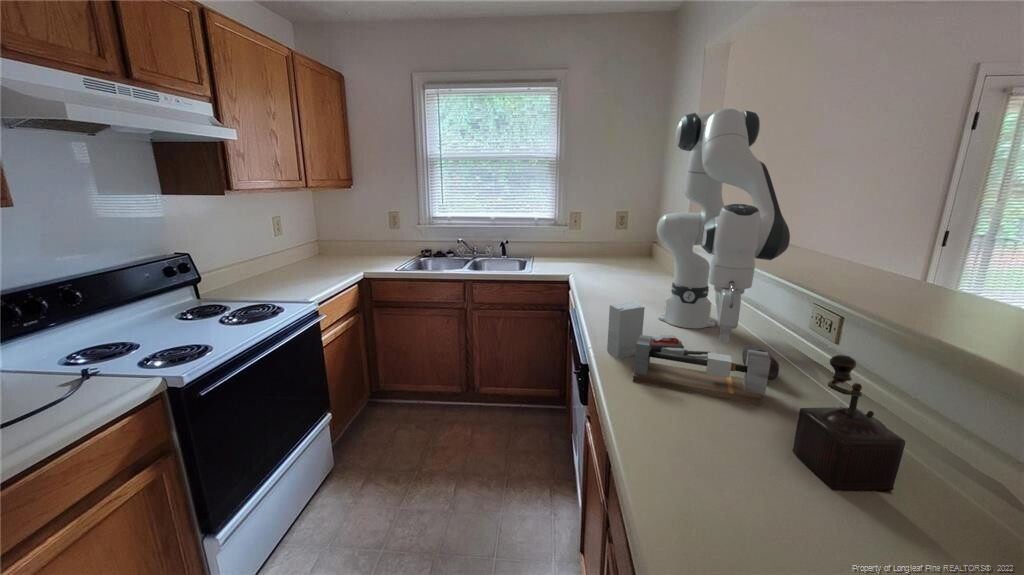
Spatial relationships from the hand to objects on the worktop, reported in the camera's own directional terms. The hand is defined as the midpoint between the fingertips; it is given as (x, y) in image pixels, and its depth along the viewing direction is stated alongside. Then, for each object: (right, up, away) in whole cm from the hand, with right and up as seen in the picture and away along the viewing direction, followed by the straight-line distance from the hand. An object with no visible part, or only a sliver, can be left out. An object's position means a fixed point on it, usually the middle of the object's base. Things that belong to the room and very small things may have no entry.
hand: (722, 333), depth 98 cm
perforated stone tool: (+15, -12, +12) cm, 22 cm away
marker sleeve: (0, -10, +2) cm, 10 cm away
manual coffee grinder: (+7, -21, -24) cm, 32 cm away
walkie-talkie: (-2, -9, +25) cm, 27 cm away
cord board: (-5, -13, +5) cm, 15 cm away
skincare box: (-17, -9, +23) cm, 30 cm away
